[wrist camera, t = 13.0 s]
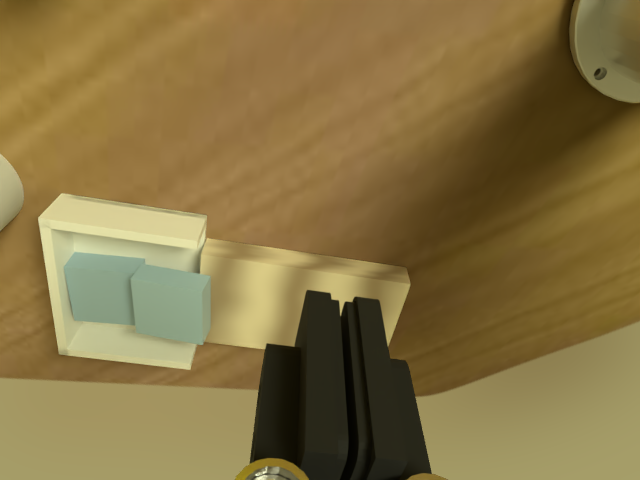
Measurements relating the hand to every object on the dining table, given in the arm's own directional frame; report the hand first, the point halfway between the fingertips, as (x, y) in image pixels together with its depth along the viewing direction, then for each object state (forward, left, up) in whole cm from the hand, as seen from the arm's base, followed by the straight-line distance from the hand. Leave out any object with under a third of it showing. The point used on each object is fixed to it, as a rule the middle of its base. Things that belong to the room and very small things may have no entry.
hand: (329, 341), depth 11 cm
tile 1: (+15, +22, -26) cm, 37 cm away
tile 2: (+9, +21, -25) cm, 34 cm away
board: (-2, +21, -27) cm, 34 cm away
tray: (+13, +21, -27) cm, 37 cm away
